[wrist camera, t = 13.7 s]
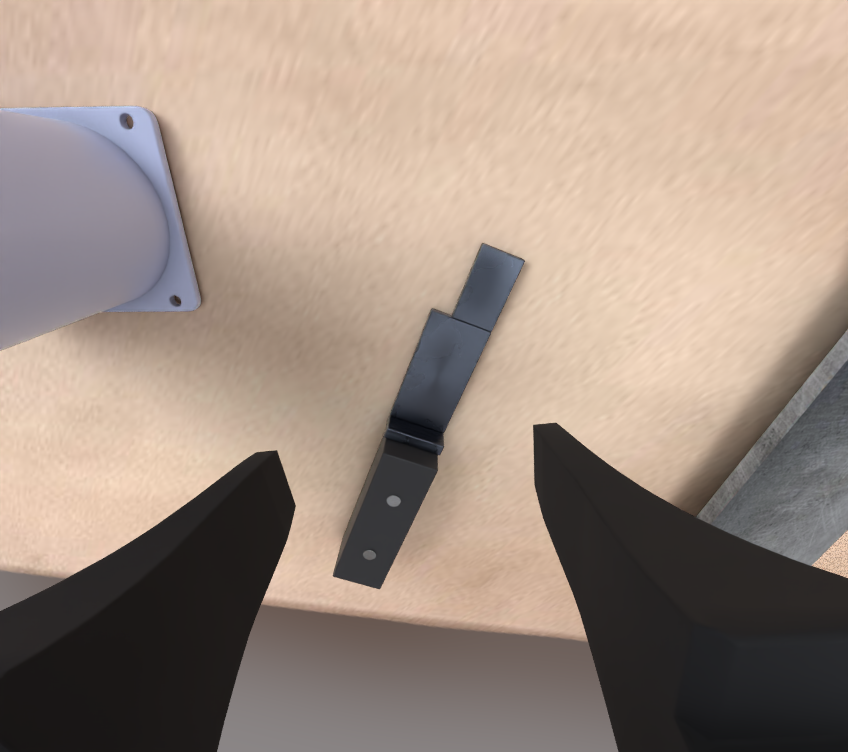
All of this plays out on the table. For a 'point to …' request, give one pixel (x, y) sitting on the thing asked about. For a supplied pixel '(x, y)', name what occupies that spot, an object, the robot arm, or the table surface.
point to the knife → (423, 419)
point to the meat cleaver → (794, 472)
